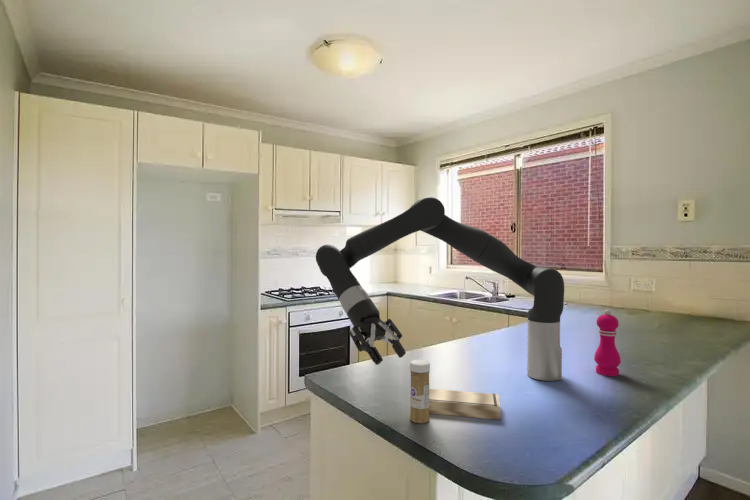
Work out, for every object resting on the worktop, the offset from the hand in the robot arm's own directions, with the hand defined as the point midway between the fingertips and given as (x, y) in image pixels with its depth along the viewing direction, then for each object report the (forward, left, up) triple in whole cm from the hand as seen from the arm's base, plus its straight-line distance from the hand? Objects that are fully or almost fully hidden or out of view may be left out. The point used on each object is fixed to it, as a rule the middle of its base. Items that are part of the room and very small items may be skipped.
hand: (391, 359), depth 98 cm
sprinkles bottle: (-7, +4, -13) cm, 15 cm away
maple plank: (-15, -4, -13) cm, 20 cm away
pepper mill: (-60, -43, -13) cm, 75 cm away
